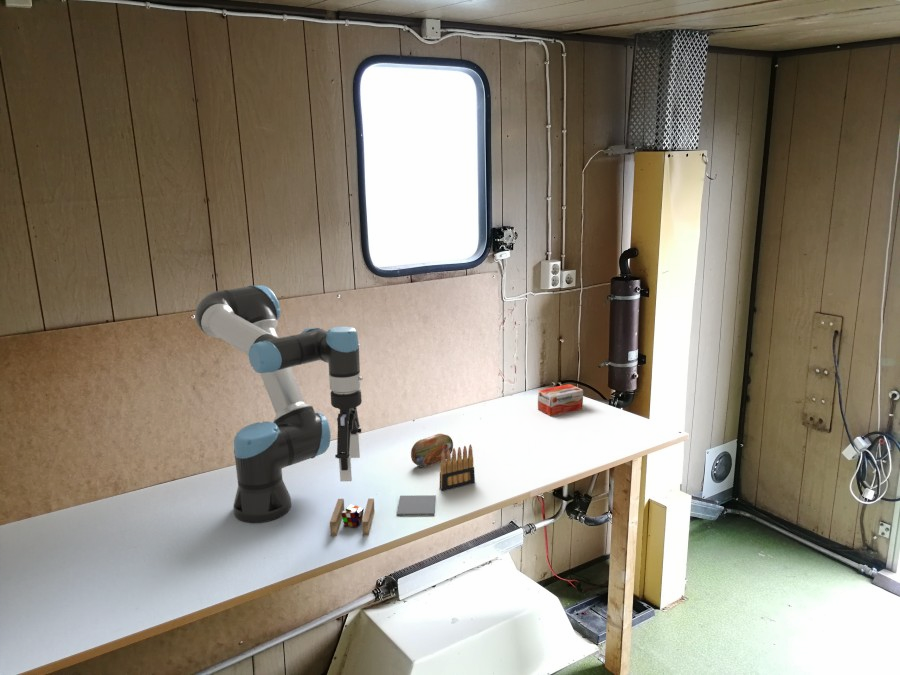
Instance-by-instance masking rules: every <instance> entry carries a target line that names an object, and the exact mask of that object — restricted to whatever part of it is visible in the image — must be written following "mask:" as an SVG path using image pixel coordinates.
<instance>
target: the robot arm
mask: <svg viewBox="0 0 900 675" xmlns="http://www.w3.org/2000/svg"><path fill="white" fill-rule="evenodd" d="M194 317H195V318H194V320H195V323H196V325H197V327H198V328H199V329H200V331H201V332H202V333H204V334H206V335H207V336H208V337H211V338H216V339H220V340H222V341H224V342H225V343H227V344H229V345H231V346H232V347H234V348H235V349H237V350H239V351H240V352H242V353H243V354H245V355H247V356H248V360H249V364H250V366H251V367H252V369H253V370H254V371H255V372H256V373H258V374H260V375H259V376H260V377H261V380H262V382H263V385H264V387H265V389H266V392H267V395H268V397H269V399H270V402H271V405H272V407H273V410H274V412H275V417H274V419H273V421H263V422H259V421H258V422H254V423H252V424H249V425H246V426H244V427H243V428H241V429H239V431H238V432H237V433H236V434H235V436H234V439H233V455H234V460H235V462H234V463H235V468H236V469H235V470H236V478H237V489H236V492H235V497H234V500H233V501H234V502H233V514H234V517H235V518H236V519H237V520H239V521H242V522H245V523H266V522H270V521H273V520H276V519H279V518H280V517H283V516H284V515H285V514H287V513H288V512H289V511H290V510H291V508H292V498H291V495H290V492H289V491H288V488H287V486H286V484H285V482H284V480H283V470H282V469H283V468H286V467H289V466H292V465H296V464H298V463H301V462H304V461H307V460H311V459H315V458H316V457H318V456H320V455H322V454H325V453H326V452H327V450H329V447H330V444H331V438H332V437H331V427H330V423H329V421H328V418H327V417H326V416H325V415H324V414H323V413H322V412H316V411H315V410H314V406H313V405H311V404H308V403H306V402H305V399H304V396H303V394H302V392H301V389H300V387H299V384H298V383H297V380H296V378H295V375H294V372H293V369H292V367H296V366H301V365H305V364H309V363H313V362H317V361H322V362H324V363H327V364H328V375H329V376H328V377H329V378H328V380H329V389H330V403H331V406H332V407H333V408H335V409H338V410H339V413H338V414H337V419H336V422H337V423H336V424H337V435H336V436H337V439H336V440H337V441H336V443H337V445H336V454H335V455H334V456H335V457H334V458H336V459H338V463H339V464H338V466H339V468H338V469H339V480H340V482H352V481H353V477H352V463H351V462H352V460H351V459H359V458H360V457H361V454H360V451H361V450H360V435H359V434H361V433H362V428H360V426H361V425H360V421H359V415H358V410H357V407H360V406H361V404H362V402H363V401H362V389H360V388H361V381H363V378H364V377H363V376H360V374H361V373H360V371H361V370H360V369H361V368H360V342H359V337H358V331H357V330H356V329H355V328H354V327H353V326H352V327H351V326H336V327H335V326H334V327H331V328H329V329H327V330H326V329H323V328H320V327H308V328H305V329H304V330H303V331H302V332H301V333H299V334H292V335H288V336H283V337H279V335H278V333H277V330H276V328H277V327H278V325H279V322H278V321H279V319H280V317H281V309H280V302H279V300H278V298H277V296H276V295H275V293H274V292H273V290H272V289H270V288H269V287H268V286H265V285H264V284H263V285H261V284H259V285H247V286H244V287H243V286H242V287H236V288H230V289H223V290H216V291H213V292H210V293H209V294H206V295H205V296H203V298H202V299H201V300H200V301H199V302H198V304H197V306H196V308H195V313H194Z"/></svg>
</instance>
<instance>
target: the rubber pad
mask: <svg viewBox="0 0 900 675" xmlns="http://www.w3.org/2000/svg"><path fill="white" fill-rule="evenodd" d="M436 498H437V496H436V494H435V495H426V494H425V495H424V494H423V495H419V494H418V495H416V494H415V495H400V496H399V500H398V503H397V510H396V516H400V517H401V516H403V517H404V516H405V517H406V516H411V517H412V516H421V517H423V516H435V512H436V502H437V501H436Z"/></svg>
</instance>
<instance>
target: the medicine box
mask: <svg viewBox="0 0 900 675" xmlns="http://www.w3.org/2000/svg"><path fill="white" fill-rule="evenodd" d="M583 404H584V390H583V389H582V388H579V387H578V386H575V385H574V384H571V383H568V384H563V385H558V386H554V387H547V388H544V389H543V388H542V389H539V390H538V394H537V410H538V411H540V412H542V413H544V414H546V415H548V416H549V417H553V416H558V415H564V414H567V413H572V412H576V411H581V410H583Z"/></svg>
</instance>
